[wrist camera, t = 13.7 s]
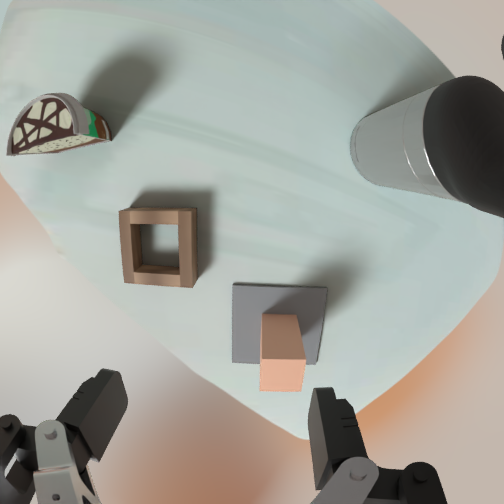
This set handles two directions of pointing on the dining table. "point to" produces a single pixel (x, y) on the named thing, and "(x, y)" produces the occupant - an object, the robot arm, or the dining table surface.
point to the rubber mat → (275, 302)
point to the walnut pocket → (133, 254)
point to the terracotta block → (281, 353)
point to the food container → (55, 126)
